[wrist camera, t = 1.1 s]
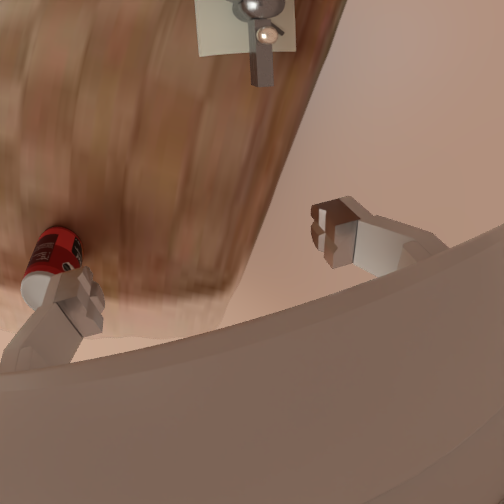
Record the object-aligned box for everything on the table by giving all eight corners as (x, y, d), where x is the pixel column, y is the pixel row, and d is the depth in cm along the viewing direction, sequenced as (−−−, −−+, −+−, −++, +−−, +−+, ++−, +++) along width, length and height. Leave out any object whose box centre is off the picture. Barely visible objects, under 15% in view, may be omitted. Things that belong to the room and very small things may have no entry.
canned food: (78, 271, 42) (70, 323, 34) (35, 257, 38) (18, 307, 30) (90, 234, 39) (80, 285, 31) (43, 218, 35) (22, 266, 27)
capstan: (167, -27, 20) (170, -44, 15) (315, -25, 24) (345, -34, 19) (178, 92, 30) (183, 99, 25) (318, 80, 34) (347, 88, 29)
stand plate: (192, -28, 22) (194, -31, 21) (287, -27, 24) (293, -29, 23) (199, 56, 30) (201, 56, 28) (291, 51, 32) (296, 51, 31)
